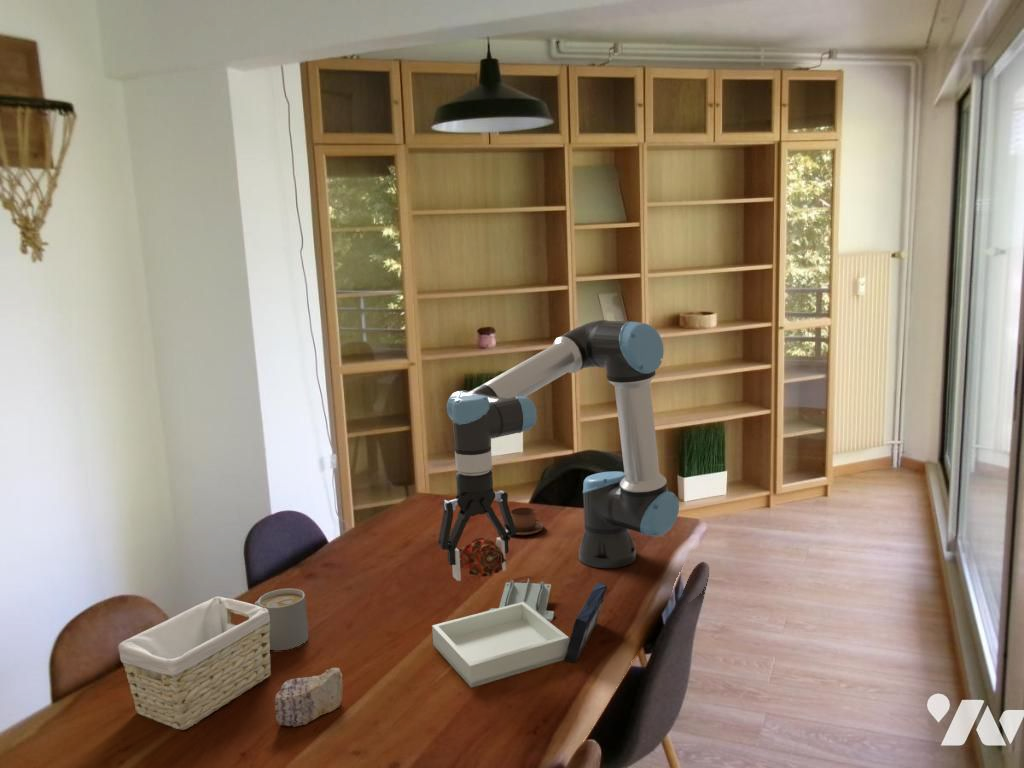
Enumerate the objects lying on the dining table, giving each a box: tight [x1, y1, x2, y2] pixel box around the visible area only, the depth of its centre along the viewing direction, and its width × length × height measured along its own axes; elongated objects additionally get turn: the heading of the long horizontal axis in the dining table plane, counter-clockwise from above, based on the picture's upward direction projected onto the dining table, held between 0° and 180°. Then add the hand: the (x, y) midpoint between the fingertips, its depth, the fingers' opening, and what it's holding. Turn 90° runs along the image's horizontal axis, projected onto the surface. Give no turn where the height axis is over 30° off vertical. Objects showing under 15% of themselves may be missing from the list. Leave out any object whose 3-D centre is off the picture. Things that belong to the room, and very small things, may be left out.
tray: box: [431, 602, 570, 688], centre depth 172 cm, size 22×20×4 cm
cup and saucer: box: [502, 507, 545, 536], centre depth 243 cm, size 12×12×6 cm
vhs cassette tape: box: [563, 582, 608, 664], centre depth 174 cm, size 18×3×10 cm, turn 159°
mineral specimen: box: [274, 667, 344, 728], centre depth 152 cm, size 14×8×7 cm, turn 136°
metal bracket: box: [488, 578, 555, 622], centre depth 192 cm, size 14×6×15 cm
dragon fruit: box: [458, 537, 507, 578], centre depth 173 cm, size 8×8×12 cm
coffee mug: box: [253, 588, 310, 650], centre depth 182 cm, size 13×10×10 cm
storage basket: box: [117, 596, 272, 731], centre depth 159 cm, size 24×16×15 cm
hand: (479, 573), depth 173 cm, fingers closed on dragon fruit, 9 cm apart
